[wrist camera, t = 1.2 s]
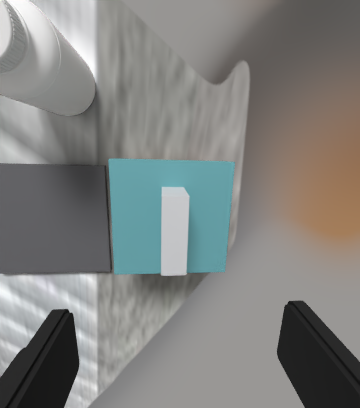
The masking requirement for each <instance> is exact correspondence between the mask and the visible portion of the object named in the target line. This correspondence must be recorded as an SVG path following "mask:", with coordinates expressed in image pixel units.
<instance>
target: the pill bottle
mask: <svg viewBox="0 0 360 408" xmlns="http://www.w3.org/2000/svg"><path fill="white" fill-rule="evenodd" d="M0 95H3V96H5V97H8V98H11V99H14V100H17V101H20V102H23V103H26V104H29V105H32V106H35V107H38V108H41V109H44V110H47V111H50V112H52V113H55V114H59V115H64V116H73V115H78V114H80V113H82V112H84V111H85V110H86V109H87V108H88V107H89V106H90V105H91V103H92V101H93V99H94V96H95V81H94V77H93V74H92V72H91V70H90V68H89V66H88V65H87V63H86V62H85V61H84V60H83V59H82V57H81V56H80V55H79V54H78V53H77V51H76V50H75V49H74V48H73V47H72V46H71V44H70V43H69V42H68V41H67V40H66V39H65V37H64V36H63V35H62V34H61V33H60V32H59V30H58V29H57V28H56V27H55V26H54V25H53V23H52V22H51V21H50V20H49V19H48V18H47V16H46V15H45V14H44V13H43V12H42V11H41V10H40V9H39V8H38V7H37V6H36V5H34V4H33V3H32V2H31V1H29V0H0Z"/></svg>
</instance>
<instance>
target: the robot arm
mask: <svg viewBox="0 0 360 408" xmlns="http://www.w3.org/2000/svg"><path fill="white" fill-rule="evenodd" d="M277 355H278V359H279V361H280V363H281V364H282V366H283V368H284V370H285V372H286V374H287V376H288V377H289V379H290V381H291V383H292V385H293V387H294V389H295V390H296V392H297V394H298V396H299V398H300V400H301V401H302V403H303V405H304V407H305V408H360V362H359V361H358V359H357V358H356V357H355V356H354V355H353V354H352V353H351V352H350V351H349V350H348V349H347V348H346V346H344V344H343V343H342V342H341V341H340V340H339V339H338V338H337V337H336V336H335V334H334V333H333V332H332V331H331V330H330V329H329V328H328V327H327V326H326V325H325V324H324V323H323V322H322V320H321V319H320V318H319V317H318V316H317V315H316V314H315V313H314V312H313V311H312V309H311V308H310V307H309V306H308V305H307V304H306V303H305V302H303V301H289V302H288V304H287V305H285V307H284V313H283V319H282V325H281V331H280V336H279V343H278V348H277ZM78 369H79V356H78V348H77V340H76V332H75V325H74V317H73V313H69V310H68V309H58V310H52V311H51V312H50V314H49V315H48V316H47V318H46V319H45V321H44V322H43V324H42V325H41V327H40V328H39V329H38V331H37V332H36V334H35V335H34V337H33V338H32V340H31V341H30V342H29V344H28V345H27V347H26V348H23V349H22V350H21V351H20V352H19V353H18V354H17V355H16V357H15V358H14V360H13V361H12V362H11V364H10V365H9V367H8V368H7V369H6V371H5V372H4V374H3V375H2V376H1V378H0V408H64V406H65V404H66V401H67V398H68V396H69V393H70V391H71V388H72V385H73V383H74V380H75V378H76V375H77V372H78Z"/></svg>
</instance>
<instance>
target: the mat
mask: <svg viewBox="0 0 360 408" xmlns="http://www.w3.org/2000/svg"><path fill="white" fill-rule="evenodd" d="M111 269H112V268H111V250H110V233H109V215H108V197H107V180H106V166H92V165H47V164H3V163H0V274H2V273H50V272H98V271H111Z"/></svg>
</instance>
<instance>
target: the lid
mask: <svg viewBox="0 0 360 408" xmlns="http://www.w3.org/2000/svg"><path fill="white" fill-rule="evenodd" d="M108 160H109V178H110V197H111V216H112V235H113V254H114V273H115V274H155V273H161V276H174V275H186V273H200V272H225V265H226V254H227V243H228V232H229V221H230V210H231V199H232V188H233V177H234V166H235V162H227V161H193V160H154V159H108Z"/></svg>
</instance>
